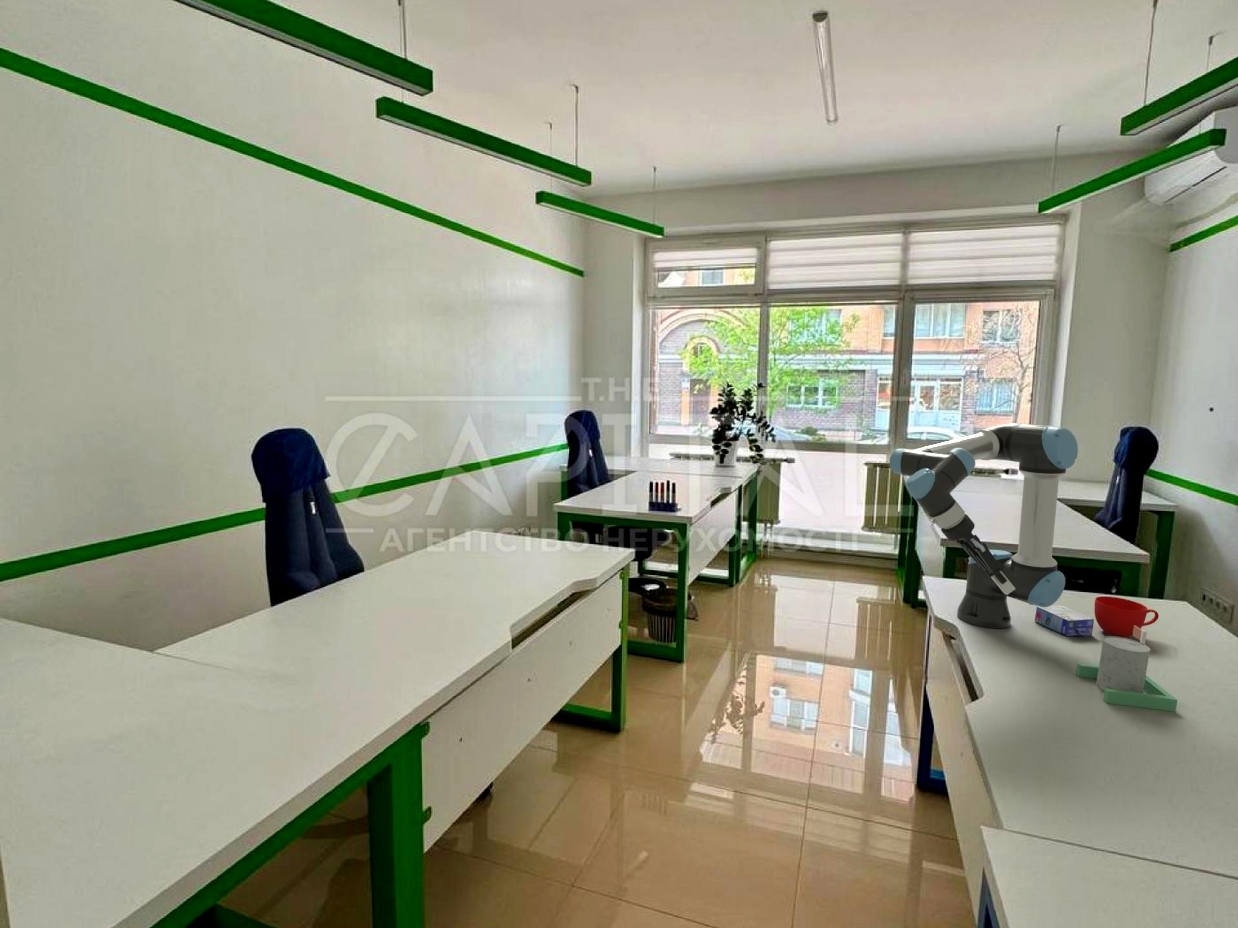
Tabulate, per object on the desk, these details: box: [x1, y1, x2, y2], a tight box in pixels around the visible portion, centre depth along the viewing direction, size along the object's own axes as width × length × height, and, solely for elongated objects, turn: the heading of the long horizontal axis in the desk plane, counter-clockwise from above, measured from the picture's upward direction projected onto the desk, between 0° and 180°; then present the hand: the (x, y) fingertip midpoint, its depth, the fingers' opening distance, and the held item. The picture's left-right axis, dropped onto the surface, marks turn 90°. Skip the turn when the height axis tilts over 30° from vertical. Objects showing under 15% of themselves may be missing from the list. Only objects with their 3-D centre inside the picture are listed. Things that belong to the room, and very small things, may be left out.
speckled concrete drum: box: [1095, 635, 1151, 693], centre depth 162 cm, size 10×10×12 cm
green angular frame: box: [1075, 625, 1178, 713], centre depth 163 cm, size 20×14×14 cm
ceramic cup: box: [1093, 595, 1159, 639], centre depth 200 cm, size 13×17×10 cm
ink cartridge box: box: [1034, 605, 1095, 637], centre depth 202 cm, size 10×6×14 cm
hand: (1009, 591), depth 168 cm, fingers closed
